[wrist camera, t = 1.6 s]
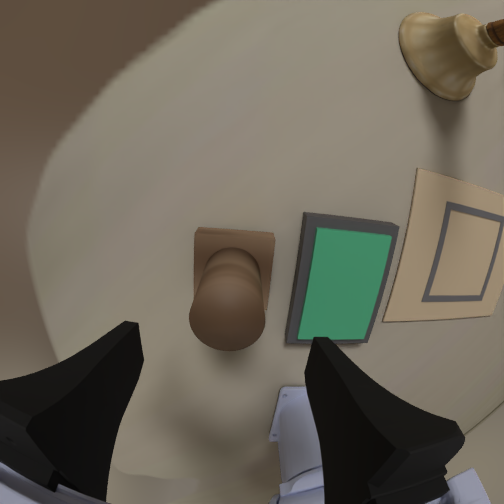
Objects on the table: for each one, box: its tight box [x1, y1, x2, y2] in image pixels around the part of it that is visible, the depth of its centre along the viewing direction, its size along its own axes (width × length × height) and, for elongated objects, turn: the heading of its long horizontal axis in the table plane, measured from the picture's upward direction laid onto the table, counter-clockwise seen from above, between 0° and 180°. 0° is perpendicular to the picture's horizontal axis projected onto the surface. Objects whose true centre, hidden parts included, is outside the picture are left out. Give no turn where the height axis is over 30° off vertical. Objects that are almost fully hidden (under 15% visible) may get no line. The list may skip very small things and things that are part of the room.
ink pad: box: [285, 212, 399, 344], centre depth 20 cm, size 10×7×2 cm
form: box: [382, 168, 504, 322], centre depth 21 cm, size 13×16×1 cm
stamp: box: [189, 227, 275, 351], centre depth 17 cm, size 5×5×8 cm
